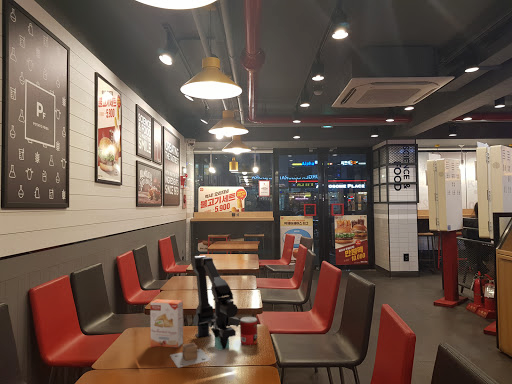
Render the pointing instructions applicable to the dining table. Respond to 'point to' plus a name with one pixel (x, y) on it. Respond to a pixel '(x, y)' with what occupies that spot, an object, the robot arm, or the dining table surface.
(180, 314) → the cracker box
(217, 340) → the teal cube
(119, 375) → the dining table surface
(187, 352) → the walnut cube
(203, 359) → the plate
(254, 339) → the canned food
